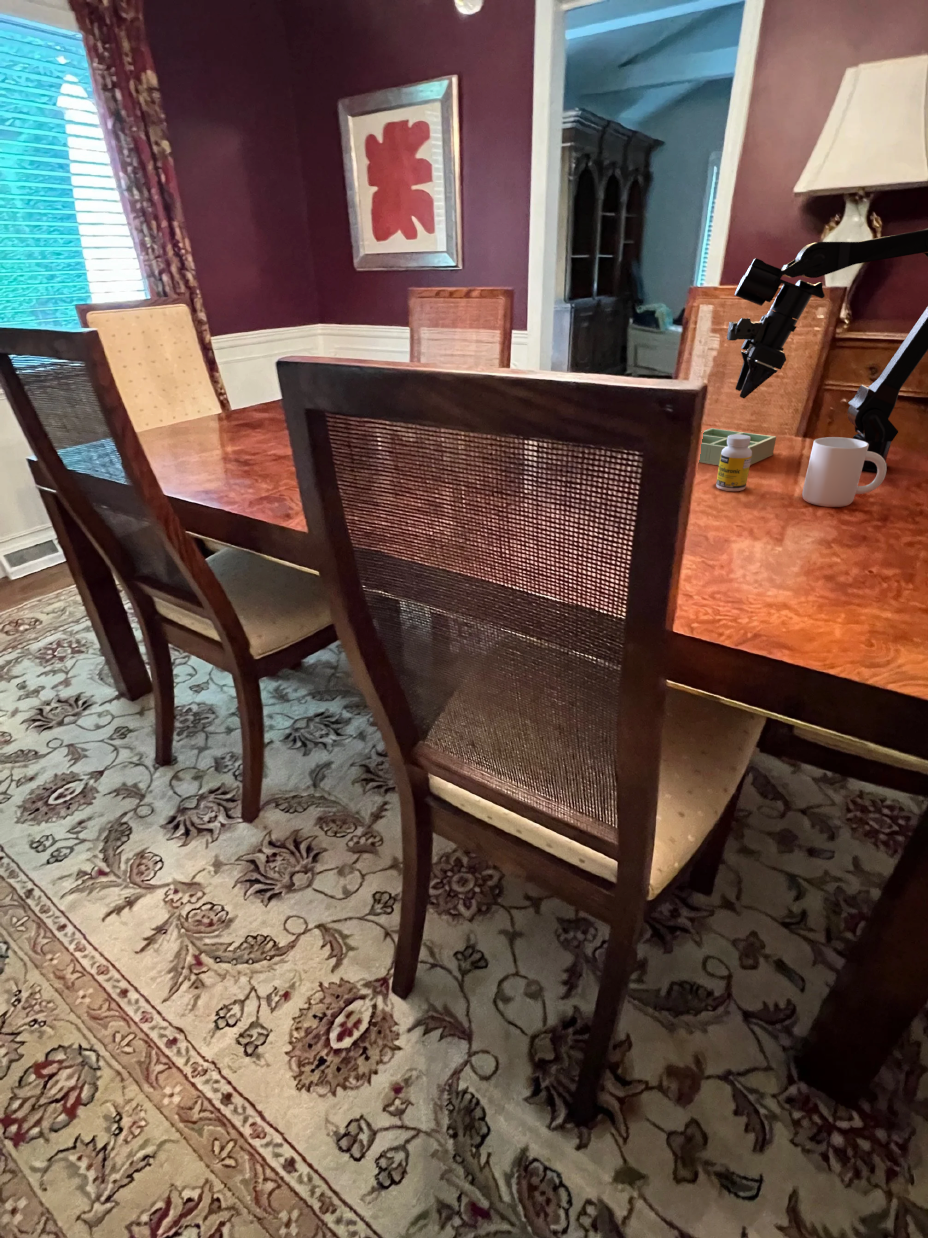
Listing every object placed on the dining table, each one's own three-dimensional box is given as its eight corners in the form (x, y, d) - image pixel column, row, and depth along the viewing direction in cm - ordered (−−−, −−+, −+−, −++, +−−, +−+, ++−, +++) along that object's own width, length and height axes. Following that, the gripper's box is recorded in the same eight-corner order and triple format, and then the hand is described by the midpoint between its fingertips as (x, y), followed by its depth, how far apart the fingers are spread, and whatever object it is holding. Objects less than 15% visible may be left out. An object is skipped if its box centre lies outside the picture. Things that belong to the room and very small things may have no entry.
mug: (874, 497, 111) (890, 439, 106) (880, 511, 105) (898, 450, 100) (799, 491, 116) (812, 435, 111) (801, 505, 109) (815, 446, 104)
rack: (772, 454, 139) (776, 436, 137) (741, 469, 130) (744, 449, 128) (708, 445, 149) (711, 427, 147) (675, 458, 140) (677, 439, 139)
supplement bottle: (710, 488, 120) (718, 436, 115) (724, 482, 123) (733, 431, 118) (736, 493, 116) (745, 441, 112) (751, 487, 119) (760, 435, 115)
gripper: (739, 297, 128) (701, 372, 137) (749, 301, 113) (705, 386, 121) (790, 317, 127) (748, 391, 136) (807, 324, 112) (759, 407, 120)
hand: (739, 393), depth 128 cm, fingers open, 9 cm apart
